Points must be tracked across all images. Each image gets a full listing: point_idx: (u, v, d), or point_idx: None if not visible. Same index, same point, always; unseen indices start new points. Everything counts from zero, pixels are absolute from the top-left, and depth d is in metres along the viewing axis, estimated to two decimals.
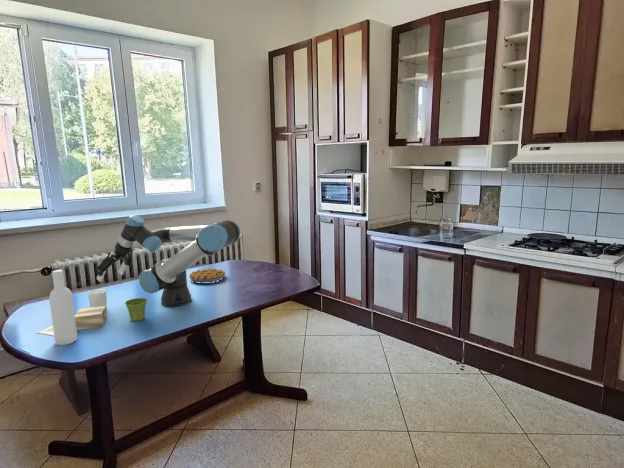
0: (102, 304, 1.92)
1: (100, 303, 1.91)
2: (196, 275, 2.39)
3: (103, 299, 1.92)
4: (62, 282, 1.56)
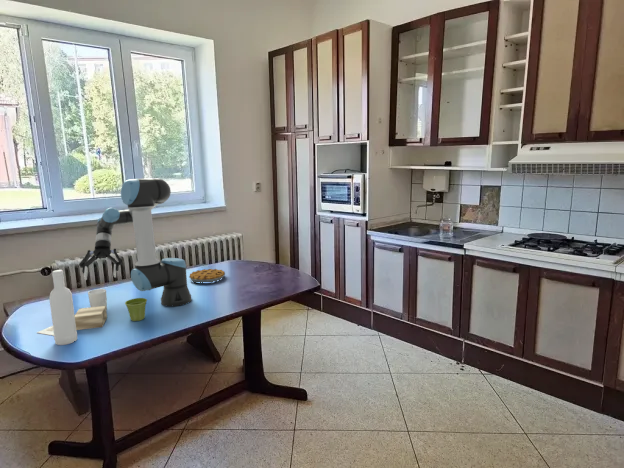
0: (102, 304, 1.92)
1: (100, 303, 1.91)
2: (196, 275, 2.39)
3: (103, 299, 1.92)
4: (62, 282, 1.56)
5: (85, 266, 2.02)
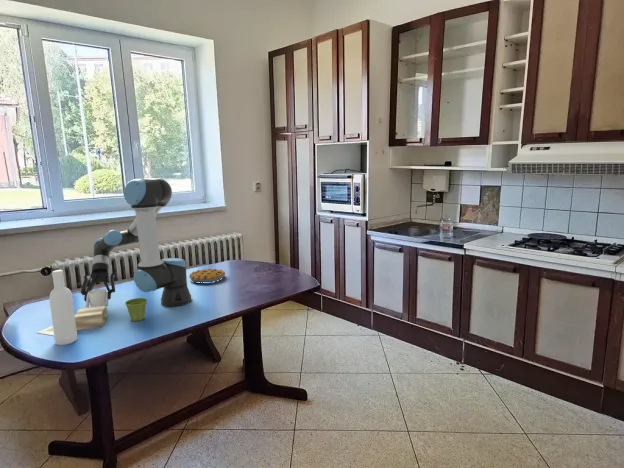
0: (102, 304, 1.92)
1: (100, 303, 1.91)
2: (196, 275, 2.39)
3: (103, 299, 1.92)
4: (62, 282, 1.56)
5: (87, 294, 1.91)
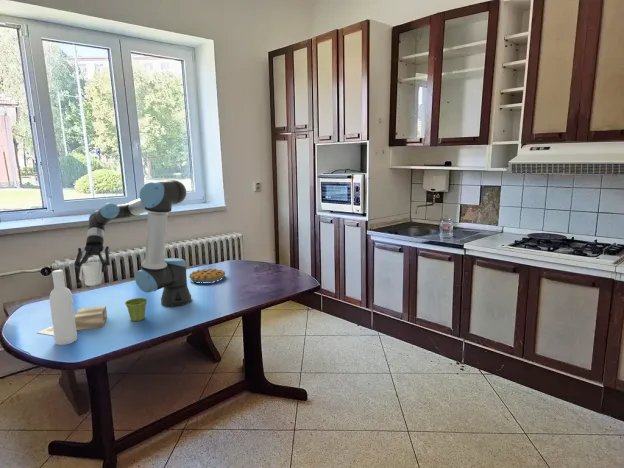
0: (96, 277, 1.87)
1: (94, 276, 1.86)
2: (196, 275, 2.39)
3: (97, 272, 1.87)
4: (62, 282, 1.56)
5: (81, 266, 1.86)
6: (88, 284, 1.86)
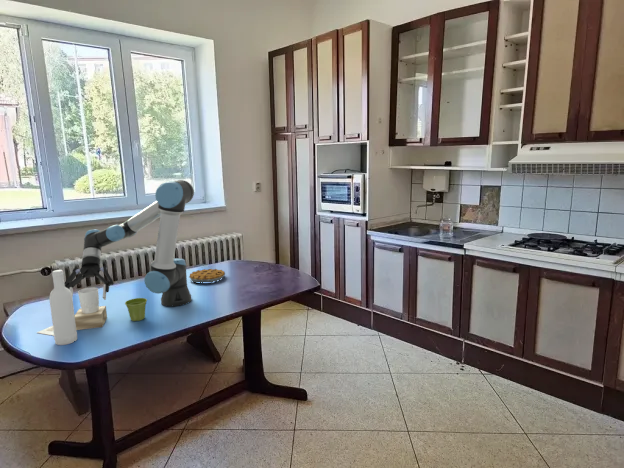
0: (93, 304, 1.75)
1: (91, 303, 1.74)
2: (196, 275, 2.39)
3: (95, 298, 1.75)
4: (62, 282, 1.56)
5: (70, 287, 1.74)
6: (85, 312, 1.74)
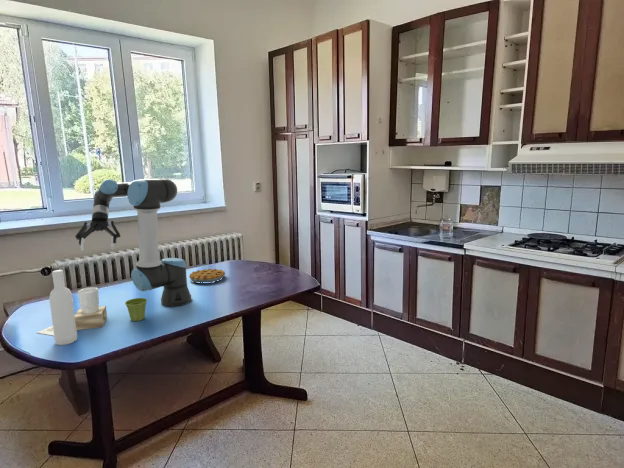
0: (93, 304, 1.75)
1: (91, 303, 1.74)
2: (196, 275, 2.39)
3: (95, 299, 1.75)
4: (62, 282, 1.56)
5: (82, 238, 1.96)
6: (85, 312, 1.74)
